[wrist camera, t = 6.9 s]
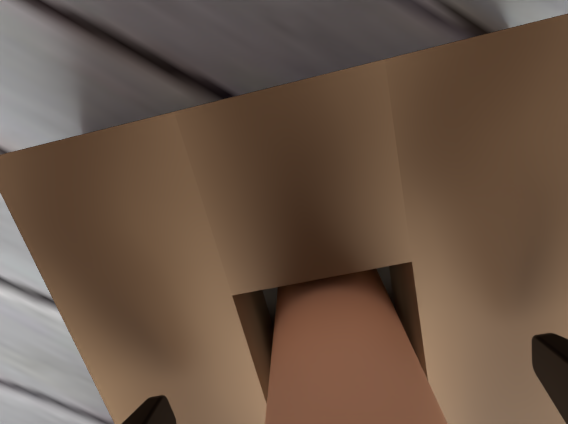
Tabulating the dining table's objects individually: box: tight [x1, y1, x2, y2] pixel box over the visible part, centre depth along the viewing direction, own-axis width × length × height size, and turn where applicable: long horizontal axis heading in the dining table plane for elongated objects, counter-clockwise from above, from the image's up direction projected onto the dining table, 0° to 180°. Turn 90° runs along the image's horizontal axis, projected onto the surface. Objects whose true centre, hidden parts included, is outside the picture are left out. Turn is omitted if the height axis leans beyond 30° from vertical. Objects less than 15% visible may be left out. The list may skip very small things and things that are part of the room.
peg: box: [265, 269, 448, 424], centre depth 9 cm, size 4×4×8 cm
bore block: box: [0, 14, 568, 424], centre depth 12 cm, size 14×14×4 cm
